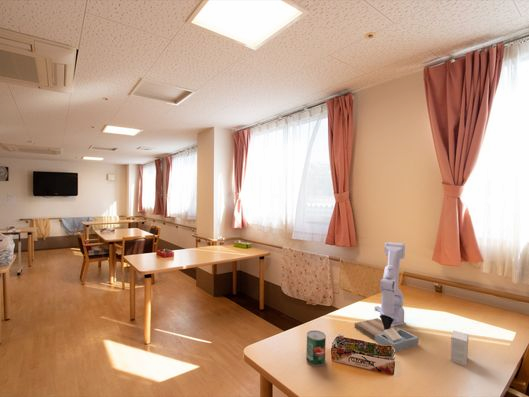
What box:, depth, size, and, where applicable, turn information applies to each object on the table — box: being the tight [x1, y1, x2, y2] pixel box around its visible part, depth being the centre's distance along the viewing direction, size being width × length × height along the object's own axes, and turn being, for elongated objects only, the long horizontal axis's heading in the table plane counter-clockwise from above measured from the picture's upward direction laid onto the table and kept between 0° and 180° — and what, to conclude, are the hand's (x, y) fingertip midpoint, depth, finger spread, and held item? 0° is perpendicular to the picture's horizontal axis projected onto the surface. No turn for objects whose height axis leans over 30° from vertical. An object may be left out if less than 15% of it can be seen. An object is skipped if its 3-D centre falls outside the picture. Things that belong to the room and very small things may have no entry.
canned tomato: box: [305, 330, 327, 367], centre depth 120 cm, size 8×8×11 cm
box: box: [374, 328, 419, 353], centre depth 136 cm, size 16×11×4 cm
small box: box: [450, 330, 469, 367], centre depth 123 cm, size 8×6×10 cm
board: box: [354, 318, 400, 341], centre depth 148 cm, size 16×14×2 cm
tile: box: [383, 328, 402, 343], centre depth 138 cm, size 6×6×2 cm
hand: (386, 330), depth 141 cm, fingers closed
